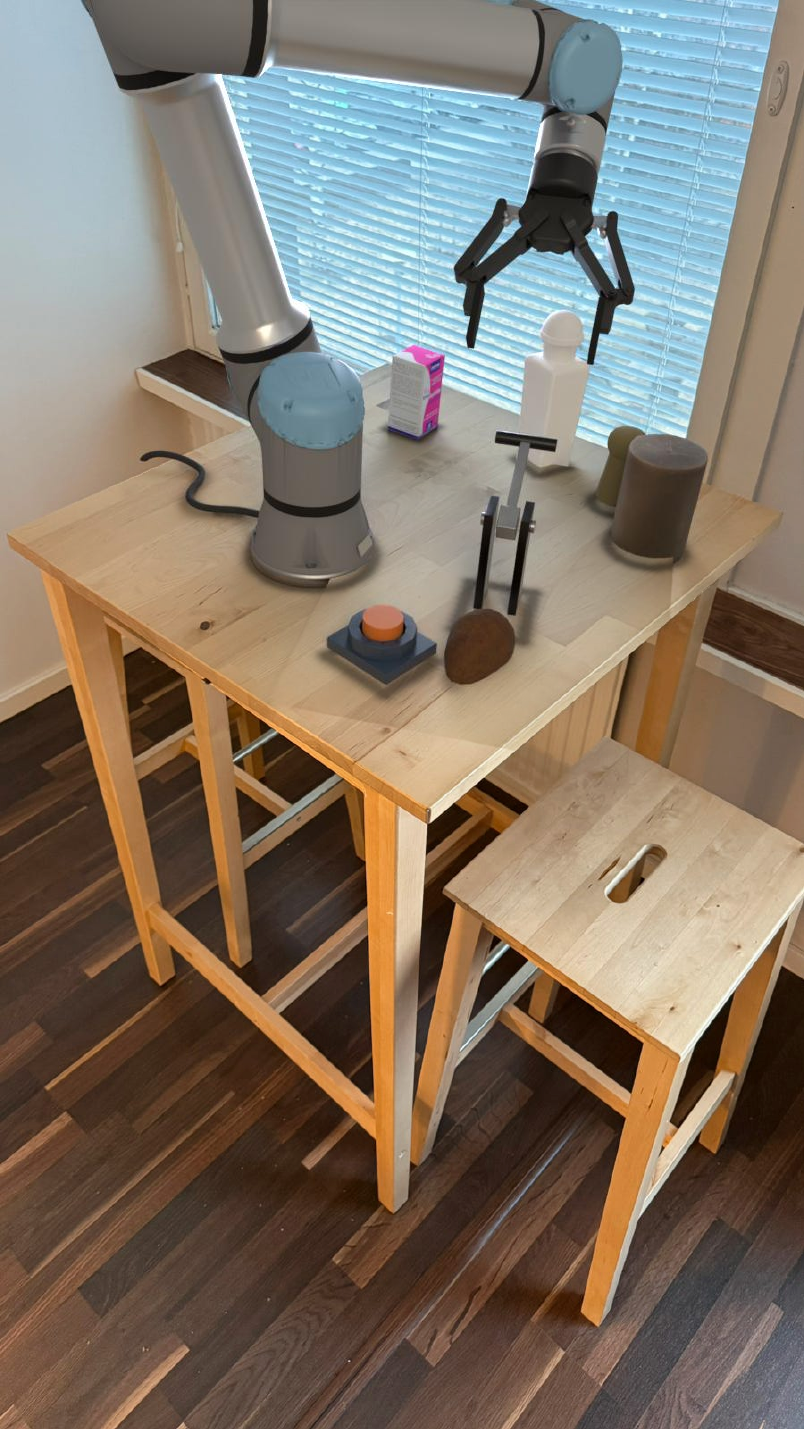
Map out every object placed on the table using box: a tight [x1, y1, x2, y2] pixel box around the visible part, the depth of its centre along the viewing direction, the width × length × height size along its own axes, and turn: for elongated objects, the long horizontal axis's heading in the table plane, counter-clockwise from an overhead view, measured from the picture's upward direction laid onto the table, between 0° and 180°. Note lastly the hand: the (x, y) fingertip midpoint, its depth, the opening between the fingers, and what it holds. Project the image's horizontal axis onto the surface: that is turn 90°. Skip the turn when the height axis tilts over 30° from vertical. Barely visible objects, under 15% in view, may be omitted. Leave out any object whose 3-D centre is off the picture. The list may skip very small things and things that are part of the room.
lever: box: [494, 429, 557, 541], centre depth 115 cm, size 13×7×2 cm, turn 166°
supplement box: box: [386, 344, 446, 440], centre depth 152 cm, size 6×6×12 cm
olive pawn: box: [594, 425, 647, 507], centre depth 138 cm, size 6×6×11 cm
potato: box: [443, 608, 516, 686], centre depth 111 cm, size 7×10×7 cm
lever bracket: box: [472, 495, 537, 617], centre depth 117 cm, size 10×8×14 cm
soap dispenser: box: [515, 309, 591, 468], centre depth 142 cm, size 6×6×22 cm
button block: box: [326, 608, 438, 686], centre depth 112 cm, size 9×8×4 cm
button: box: [362, 604, 404, 642], centre depth 110 cm, size 4×4×2 cm
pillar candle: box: [609, 433, 709, 564], centre depth 128 cm, size 10×10×15 cm
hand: (529, 351), depth 114 cm, fingers open, 13 cm apart
